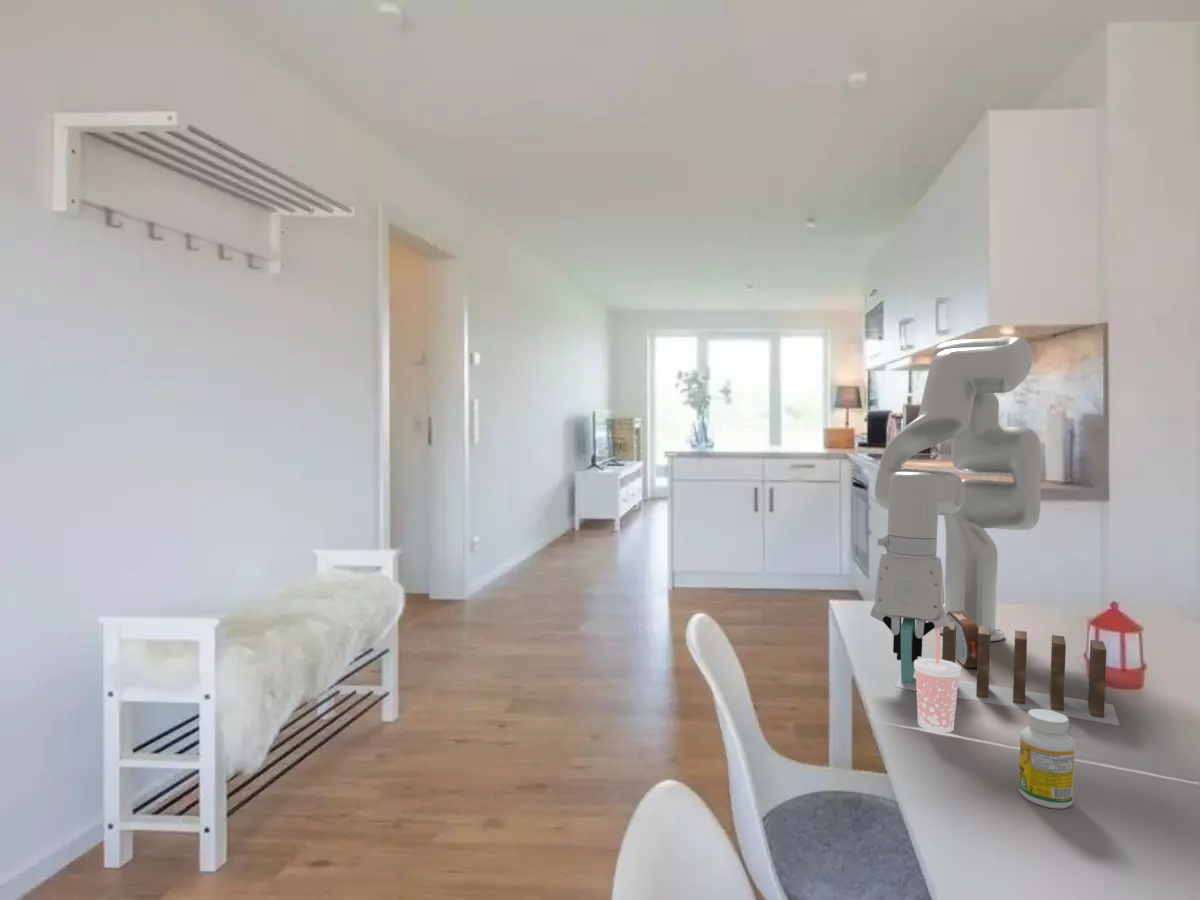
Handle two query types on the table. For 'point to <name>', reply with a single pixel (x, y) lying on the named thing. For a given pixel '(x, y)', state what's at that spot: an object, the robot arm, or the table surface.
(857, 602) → the table surface
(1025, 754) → the supplement bottle
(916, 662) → the beverage cup
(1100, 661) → the domino
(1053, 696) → the domino
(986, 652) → the domino
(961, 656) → the tin
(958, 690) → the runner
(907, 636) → the domino
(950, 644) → the domino
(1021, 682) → the domino
